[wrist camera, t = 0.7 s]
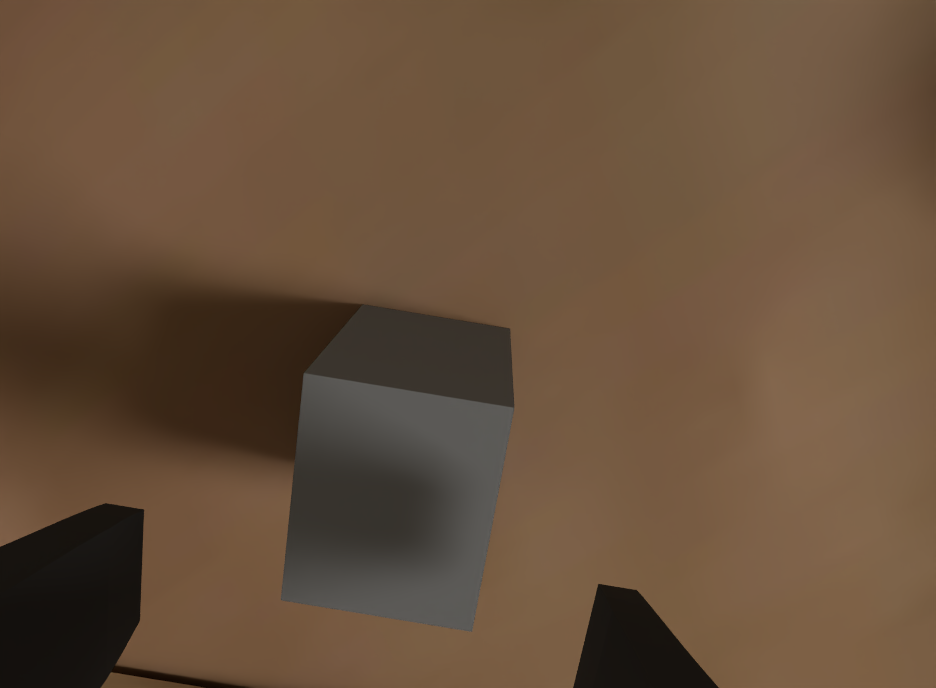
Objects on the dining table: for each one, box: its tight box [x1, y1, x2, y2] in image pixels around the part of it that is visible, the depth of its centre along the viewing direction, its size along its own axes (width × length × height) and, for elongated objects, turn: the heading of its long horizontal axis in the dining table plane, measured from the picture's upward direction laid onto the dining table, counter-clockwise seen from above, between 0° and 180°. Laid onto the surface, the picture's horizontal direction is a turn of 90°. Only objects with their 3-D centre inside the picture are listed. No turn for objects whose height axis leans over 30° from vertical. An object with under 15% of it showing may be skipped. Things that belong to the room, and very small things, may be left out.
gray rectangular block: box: [281, 305, 514, 632], centre depth 17 cm, size 5×4×6 cm
